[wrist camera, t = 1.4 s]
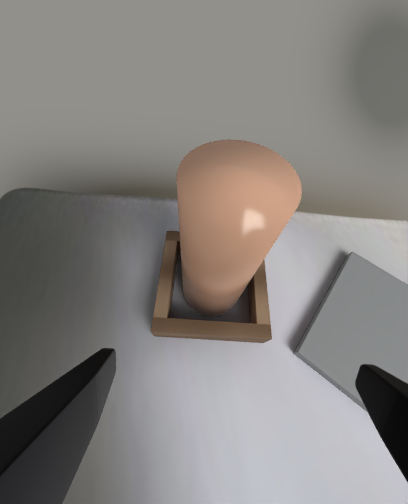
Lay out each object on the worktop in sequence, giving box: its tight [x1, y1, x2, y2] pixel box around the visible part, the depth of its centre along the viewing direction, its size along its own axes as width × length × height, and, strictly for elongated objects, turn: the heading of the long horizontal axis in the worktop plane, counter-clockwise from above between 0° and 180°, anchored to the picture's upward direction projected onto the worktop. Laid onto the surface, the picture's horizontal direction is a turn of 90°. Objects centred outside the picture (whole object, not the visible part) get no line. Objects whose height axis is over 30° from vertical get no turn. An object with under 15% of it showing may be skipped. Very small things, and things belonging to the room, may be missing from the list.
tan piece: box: [177, 140, 302, 316], centre depth 18 cm, size 9×6×15 cm
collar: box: [151, 231, 272, 343], centre depth 23 cm, size 10×10×2 cm
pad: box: [294, 252, 408, 412], centre depth 22 cm, size 14×14×1 cm
